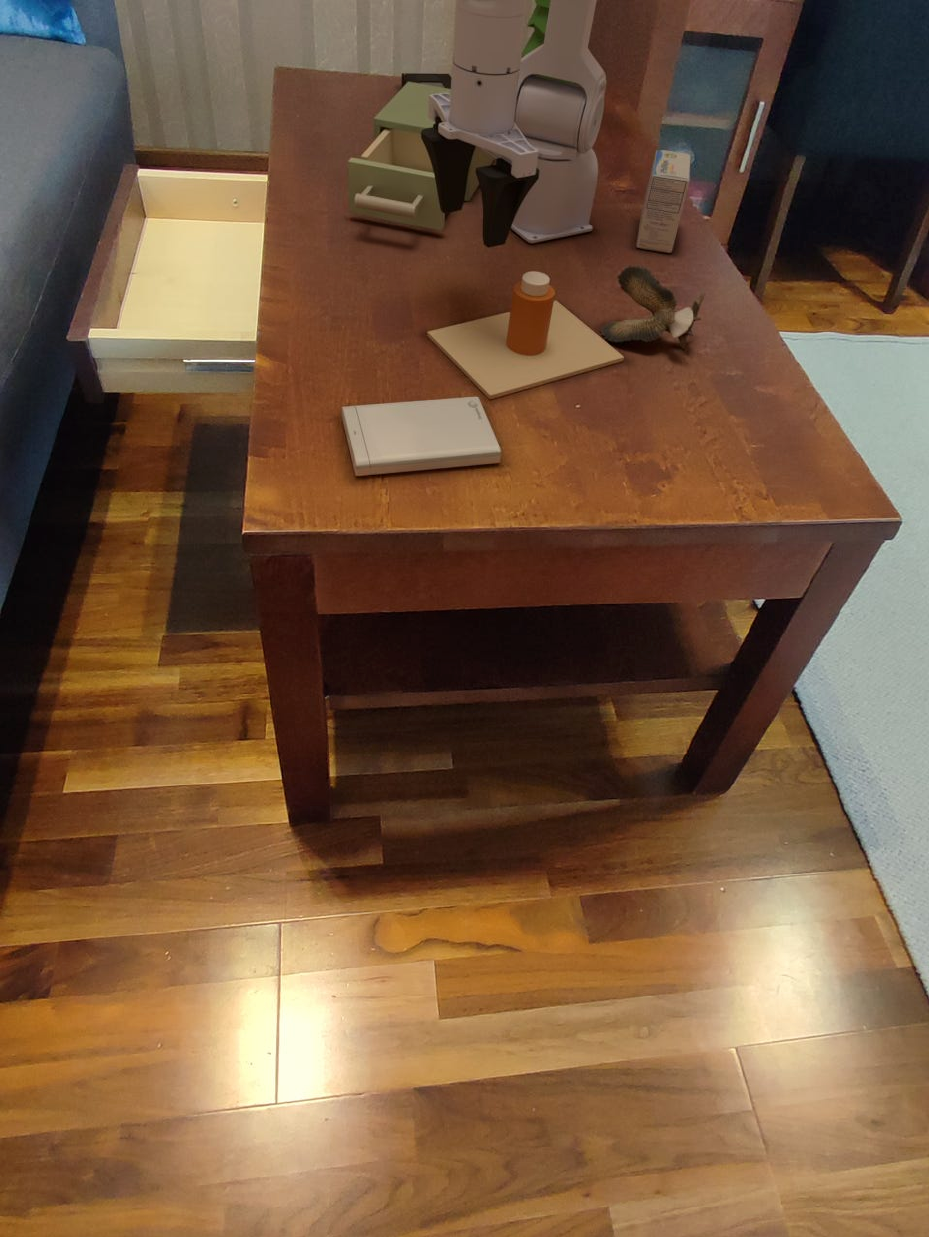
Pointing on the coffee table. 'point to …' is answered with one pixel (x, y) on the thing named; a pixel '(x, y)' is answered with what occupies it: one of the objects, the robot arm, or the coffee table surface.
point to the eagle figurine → (658, 302)
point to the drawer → (395, 181)
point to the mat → (505, 371)
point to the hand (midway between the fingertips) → (472, 226)
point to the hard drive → (419, 435)
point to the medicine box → (664, 201)
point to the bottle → (530, 314)
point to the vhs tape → (427, 79)
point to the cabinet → (423, 123)
